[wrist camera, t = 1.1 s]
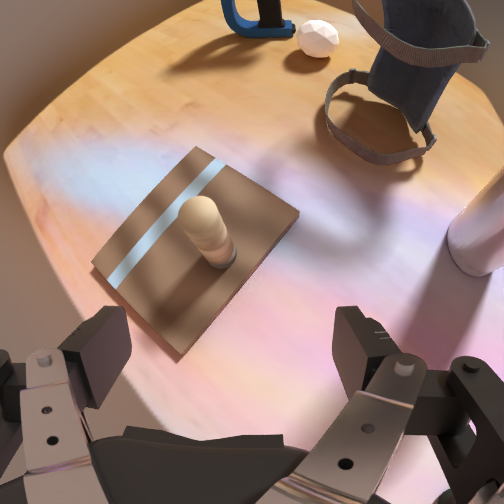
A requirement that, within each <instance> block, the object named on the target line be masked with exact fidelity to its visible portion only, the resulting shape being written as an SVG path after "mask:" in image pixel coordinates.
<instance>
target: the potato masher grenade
mask: <svg viewBox="0 0 504 504" xmlns="http://www.w3.org/2000/svg"><path fill="white" fill-rule="evenodd" d="M438 504H457V503H456V501H455V498H454V496H453V493H452V491H451V489H448V490H446V491H445V492H444V493H443V494H442V495H441V496H440V498H439V501H438Z"/></svg>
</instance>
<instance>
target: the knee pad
mask: <svg viewBox="0 0 504 504" xmlns="http://www.w3.org/2000/svg"><path fill="white" fill-rule="evenodd" d="M352 4H353V10H354V13H355V16H356V18H357V19H358V21H359V22H360V24H361V25H362V26H363V27H364V29H365V30H366V31H367V32H368V34H369V35H370V36H371V37H372V38H373V39H374V40H375V41H376V42H377V43H378V44H379V45H380V46H381V47H380V50H379V52H378V54H377V56H376V58H375V61H374V63H373V65H372V67H371V70H370V72H367V71H356V69H350V70H349V72H346V73H343V74H341V75H340V76H338V77H337V78H336V79H335V80H334V81H333V82H332V83H331V85H330V87H329V89H328V91H327V94H326V99H325V114H326V120H327V124H328V127H329V129H330V130H331V132H332V133H333V135H334V136H335V137H336V138H337V139H338V140H339V141H340V142H341V143H343V144H344V145H345V146H347V147H348V148H349V149H350V150H352V151H353V152H354V153H356V154H357V155H359V156H360V157H362V158H363V159H364V160H366V161H368V162H371V163H373V164H375V165H391V164H395V163H399V162H402V161H404V160H408V159H411V158H416V157H420V156H422V155H424V154H425V152H426V151H429V149H431V147H432V146H433V145H434V143H435V142H436V140H437V139H436V135H434V134H432V131H431V128H430V126H429V123H428V119H429V117H430V116H431V114H432V112H433V110H434V108H435V106H436V104H437V102H438V100H439V98H440V96H441V94H442V92H443V91H444V89H445V87H446V85H447V84H448V82H449V80H450V79H451V77H452V76H453V74H454V73H455V72H456V70H457V68H458V67H459V65H460V64H461V63H474V62H475V63H476V62H478V60H480V61H481V60H482V58H483V56H484V54H485V53H486V51H487V49H488V48H489V46H490V42H489V41H488V40H484V38H483V37H482V35H481V34H480V32H479V31H478V30H477V28H476V22H475V18H474V15H473V12H472V9H471V7H470V6H469V4H468V3H467V1H466V0H382V4H383V10H384V20H385V21H384V22H385V23H384V26H385V27H384V28H383V27H382V26H380V25H379V24H378V23H376V22H375V21H374V20H373V19H372V18H371V17H370V16H369V15H368V14H367V13H366V12H365V10H364V9H363V8H362V7H361V6H360V4H359V3H358V2H357V0H352ZM354 82H355V83H359V84H363V85H366V86H368V90H369V91H371V92H372V93H373V94H375V95H376V96H377V97H379V98H380V99H382V100H384V101H386V102H387V103H389V104H391V105H393V106H394V107H396V108H398V109H399V110H400V111H401V112H402V113H403V115H404V116H405V118H406V119H407V121H408V123H409V125H410V127H411V128H412V130H413V131H414V132H415V133H416V134H417V133H418V132H419V131H421V132H422V135H423V137H424V138H425V141H426V147H422V148H414V149H408V150H404V151H401V152H397V153H391V154H381V153H376V152H374V151H371V150H369V149H367V148H366V147H364V146H362V145H361V144H359V143H358V142H356V141H355V140H353V139H352V138H350V137H349V136H347V135H346V134H344V133H343V132H341V131H340V130H339V129H338V128H337V127H336V126H334V125H333V123H332V122H331V120H330V119H329V118H328V108H329V104H330V101H331V98H332V96H333V94H334V93H335V92H336V91H337V90H338V89H339V88H340V87H342V86H344V85H346V84H354Z"/></svg>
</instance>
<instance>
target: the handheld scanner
mask: <svg viewBox="0 0 504 504" xmlns="http://www.w3.org/2000/svg"><path fill="white" fill-rule="evenodd" d="M257 3H258V9H259V15H260V20H259V21H248V20H245V19H243V18H242V17H241V16H240V15H239V14H238V12H237V10H236V6H235V1H234V0H221V4H222V9H223V13H224V17H225V20H226V22H227V24H228V26H229V27H230V28H231V29H232V30H233V31H234V32H236V33H238V34H239V35H242V36H245V37H249V38H266V37H292V33H295V32H296V29H295V25H294V24H292V22H291V20H284V19H282V12H281V2H280V0H257Z"/></svg>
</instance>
